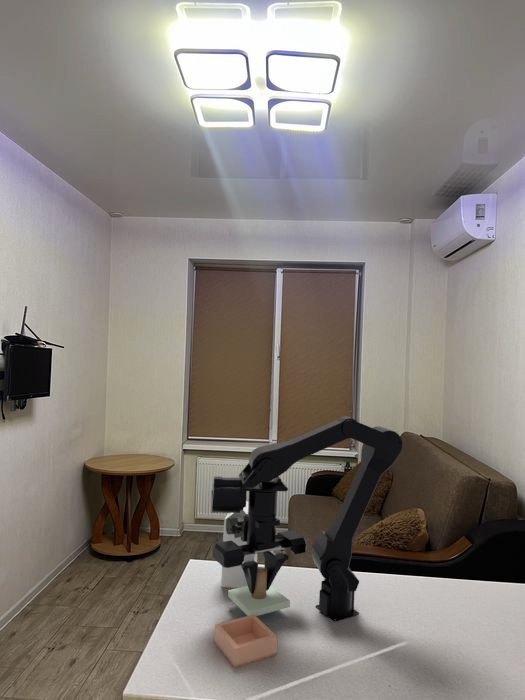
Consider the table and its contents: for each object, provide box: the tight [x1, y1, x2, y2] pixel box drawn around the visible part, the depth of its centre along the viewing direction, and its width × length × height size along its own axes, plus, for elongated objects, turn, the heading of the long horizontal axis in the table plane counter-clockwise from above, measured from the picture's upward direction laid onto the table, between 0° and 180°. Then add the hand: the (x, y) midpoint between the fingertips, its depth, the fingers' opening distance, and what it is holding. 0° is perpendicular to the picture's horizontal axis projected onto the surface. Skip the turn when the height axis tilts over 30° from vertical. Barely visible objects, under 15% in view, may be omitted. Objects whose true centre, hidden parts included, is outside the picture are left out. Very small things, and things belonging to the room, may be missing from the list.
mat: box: [227, 604, 291, 627], centre depth 96 cm, size 9×9×1 cm
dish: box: [213, 614, 278, 669], centre depth 84 cm, size 8×8×4 cm
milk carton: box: [220, 499, 258, 589], centre depth 110 cm, size 7×7×19 cm
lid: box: [227, 566, 291, 616], centre depth 96 cm, size 9×9×6 cm
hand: (258, 591), depth 96 cm, fingers closed on lid, 3 cm apart
